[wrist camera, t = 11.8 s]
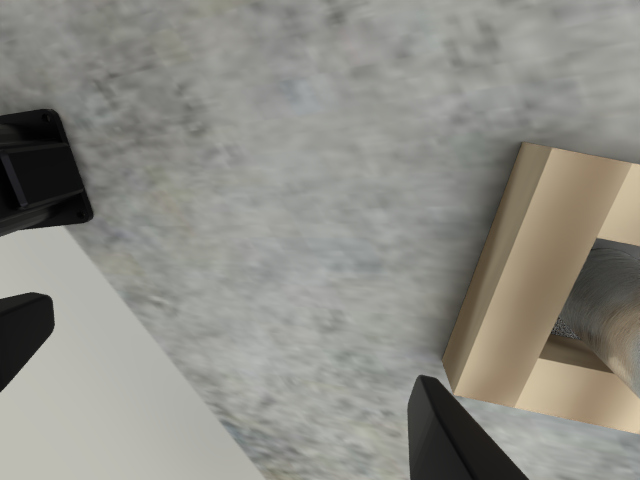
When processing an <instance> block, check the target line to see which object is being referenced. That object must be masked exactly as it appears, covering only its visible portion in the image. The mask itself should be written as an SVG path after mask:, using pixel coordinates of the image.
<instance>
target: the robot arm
mask: <svg viewBox="0 0 640 480" xmlns="http://www.w3.org/2000/svg"><path fill="white" fill-rule="evenodd" d="M47 116H49V117H50V122H49V121H48V119H47ZM81 211H82V212H83V213H84V214H85V217H84V216H83V215H82V213H81ZM92 218H93V211H92V208H91V205H90V203H89V200H88V197H87V194H86V191H85V188H84V185H83V183H82V180H81V177H80V174H79V171H78V168H77V165H76V163H75V160H74V157H73V154H72V151H71V148H70V145H69V143H68V140H67V137H66V134H65V131H64V128H63V125H62V122H61V120H60V117H59V115H58V113H57V112H55V111H54V110H52V109H40V110H34V111H27V112H21V113H15V114H8V115H2V116H0V237H1V236H4V235H7V234H9V233H12V232H15V231H17V230H25V229H33V228H43V227H52V226H62V225H71V224H80V223H85V222H88V221H90V220H92ZM54 322H55V321H54V310H53V301H52V298H51V297H50V296H48V295H44V294H39V293H34V292H30V293H25V294H21V295H16V296H12V297H7V298H3V299H0V392H1V391H2V390H3V389H4V388H5V387H6V386H7V385H8V384H9V382H10V381H11V380H12V379H13V378H14V377H15V376H16V375H17V373H18V372H19V371H20V370H21V369H22V367H23V366H24V365H25V364H26V363H27V362H28V360H29V359H30V358H31V357H32V356H33V355H34V354H35V352H36V351H37V350H38V349H39V348H40V347H41V345H42V344H43V343H44V342H45V341H46V339H47V338H48V337H49V336H50V335H51V333H52V332H53V329H54V326H55V323H54ZM407 413H408V439H409V465H410V480H529V479H528V478H527V477H526V476H525V475H524V474H523V472H522V471H521V470H520V469H519V468H518V467H517V466H516V465H515V464H514V463H513V461H512V460H511V459H510V458H509V457H508V456H507V455H506V454H505V453H504V452H503V450H502V449H501V448H500V447H499V446H498V445H497V444H496V443H495V442H494V441H493V439H492V438H491V437H490V436H489V435H488V434H487V433H486V432H485V431H484V430H483V429H482V427H481V426H480V425H479V424H478V423H477V422H476V421H475V420H474V419H473V418H472V416H471V415H470V414H469V413H468V412H467V411H466V410H465V409H464V408H463V407H462V405H461V404H460V403H459V402H458V401H457V400H456V399H455V398H454V397H453V396H452V394H451V393H450V392H449V391H448V390H447V389H446V388H445V387H444V386H443V385H442V384H441V382H440V381H439V380H438V379H436V378H434V377H430V376H425V375H419V376H418V377H417V379H416V381H415V384H414V387H413V390H412V393H411V396H410V399H409V402H408V409H407Z"/></svg>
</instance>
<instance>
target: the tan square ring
mask: <svg viewBox="0 0 640 480" xmlns="http://www.w3.org/2000/svg"><path fill="white" fill-rule="evenodd" d="M596 238H601V239H606V240H611V241H616V242H621V243H626V244H631V245H636V246H640V165H639V164H634V163H629V162H624V161H619V160H614V159H609V158H603V157H598V156H593V155H588V154H583V153H578V152H573V151H568V150H562V149H557V148H552V147H547V146H542V145H537V144H532V143H526V142H522V145H521V148H520V150H519V153H518V156H517V158H516V161H515V164H514V166H513V169H512V172H511V175H510V177H509V180H508V183H507V185H506V188H505V191H504V194H503V196H502V199H501V202H500V204H499V207H498V210H497V212H496V215H495V218H494V221H493V223H492V226H491V229H490V231H489V234H488V237H487V239H486V242H485V245H484V248H483V250H482V253H481V256H480V258H479V261H478V264H477V266H476V269H475V272H474V275H473V277H472V280H471V283H470V285H469V288H468V291H467V293H466V296H465V299H464V302H463V304H462V307H461V310H460V312H459V315H458V318H457V321H456V323H455V326H454V329H453V331H452V334H451V337H450V339H449V342H448V345H447V348H446V350H445V353H444V356H443V358H442V363H443V366H444V369H445V372H446V375H447V377H448V380H449V383H450V386H451V389H452V392H453V395H457V396H462V397H466V398H471V399H476V400H481V401H485V402H490V403H495V404H499V405H504V406H509V407H514V408H518V409H523V410H528V411H533V412H537V413H542V414H547V415H551V416H556V417H561V418H566V419H570V420H575V421H580V422H585V423H589V424H594V425H599V426H603V427H608V428H613V429H618V430H622V431H627V432H632V433H637V434H640V399H639V398H638V397H637V396H636V395H635V394H634V393H633V392H632V391H631V390H630V389H629V388H628V387H627V386H626V385H625V384H624V383H623V382H622V381H621V380H620V379H619V378H618V377H617V376H616V374H615V373H614V372H613V371H612V370H611V369H610V368H609V367H608V366H607V365H606V364H605V363H604V362H603V361H602V360H601V359H600V358H599V357H598V356H597V355H596V354H595V353H594V352H593V351H592V350H591V349H590V348H589V347H588V346H587V345H586V344H585V343H584V342H583V341H582V340H578V339H573V338H568V337H563V336H558V335H553V334H550V333H551V331H552V329H553V327H554V324H555V322H556V320H557V318H558V316H559V314H560V312H561V310H562V308H563V306H564V304H565V302H566V300H567V298H568V296H569V294H570V291H571V289H572V287H573V285H574V283H575V281H576V279H577V277H578V275H579V273H580V271H581V269H582V267H583V265H584V263H585V261H586V258H587V256H588V254H589V252H590V250H591V248H592V246H593V244H594V242H595V240H596Z"/></svg>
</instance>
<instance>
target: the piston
mask: <svg viewBox="0 0 640 480" xmlns="http://www.w3.org/2000/svg"><path fill="white" fill-rule="evenodd" d="M558 317H559V318H560V319H561V320H562V321H563V322H564V323H565V324H566V325H567V326H568V327H569V328H570V329H571V330H572V331H573V332H574V333H575V334H576V335H577V336H578V337H579V338H580V339H581V340H582V341H583V342H584V343H585V344H586V345H587V346H588V347H589V348H590V349H591V350H592V351H593V352H594V353H595V354H596V355H597V356H598V357H599V358H600V359H601V360H602V361H603V362H604V363H605V364H606V365H607V366H608V367H609V368H610V369H611V370H612V371H613V372H614V373H615V374H616V376H617V377H618V378H619V379H620V380H621V381H622V382H623V383H624V384H625V385H626V386H627V387H628V388H629V389H630V390H631V391H632V392H633V393H634V394H635V395H636V396H637V397H638V398H639V399H640V261H639V260H637V259H636V258H634V257H632V256H630V255H628V254H626V253H624V252H622V251H619V250H614V249H595V250H590V252H589V254H588V256H587V258H586V261H585V263H584V265H583V267H582V269H581V271H580V273H579V275H578V277H577V279H576V281H575V283H574V285H573V287H572V289H571V291H570V294H569V296H568V298H567V300H566V302H565V304H564V306H563V308H562V310H561V312H560V314H559V316H558Z"/></svg>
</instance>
